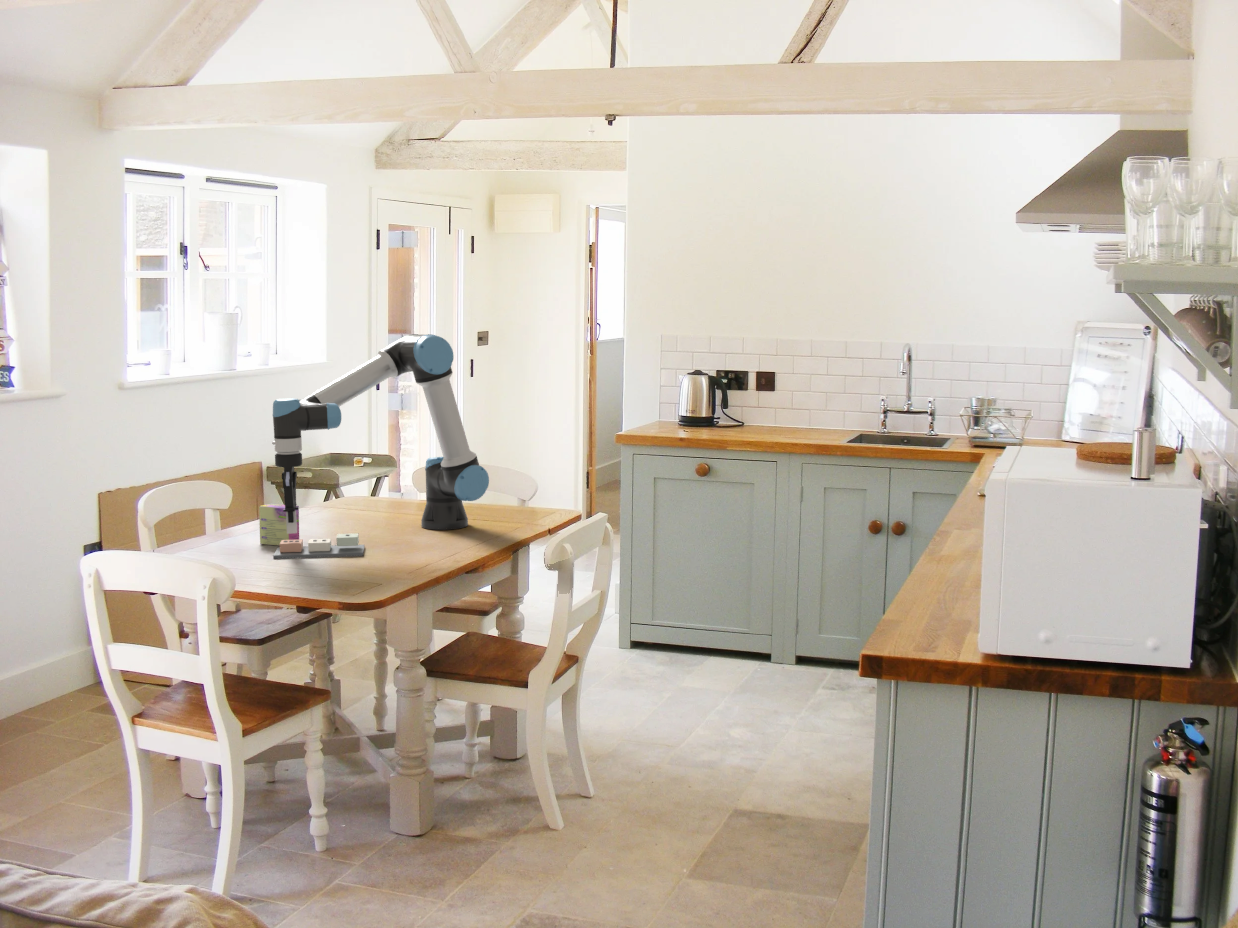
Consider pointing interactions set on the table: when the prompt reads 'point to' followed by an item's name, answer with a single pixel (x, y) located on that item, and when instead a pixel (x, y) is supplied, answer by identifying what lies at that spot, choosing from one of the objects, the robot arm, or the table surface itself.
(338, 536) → the tile one
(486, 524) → the table surface
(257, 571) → the table surface
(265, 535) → the box
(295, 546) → the tile three
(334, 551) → the keypad board
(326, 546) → the tile two
